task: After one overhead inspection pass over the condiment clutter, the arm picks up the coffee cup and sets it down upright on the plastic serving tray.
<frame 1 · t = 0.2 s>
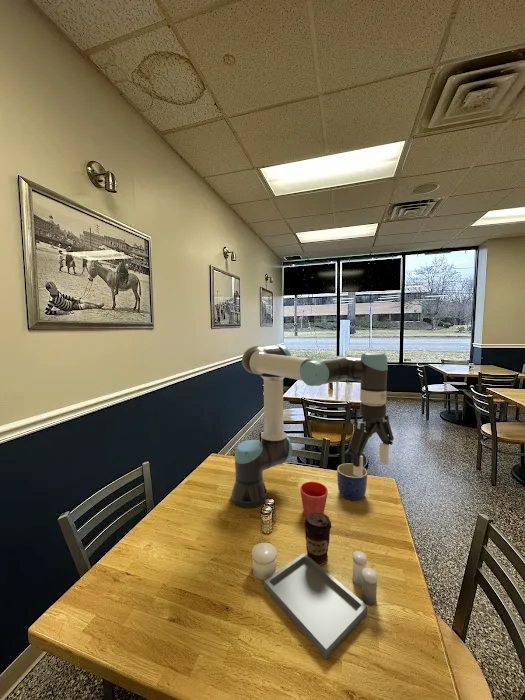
hand: (371, 469, 91), 28 cm above the table, fingers open, 13 cm apart
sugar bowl: (264, 569, 87), on the table
tray: (313, 601, 77), on the table
coffee cup: (317, 558, 92), on the table
pepper shaker: (369, 599, 77), on the table
planter: (351, 494, 126), on the table
flower pot: (313, 512, 114), on the table
salt shaker: (359, 580, 83), on the table
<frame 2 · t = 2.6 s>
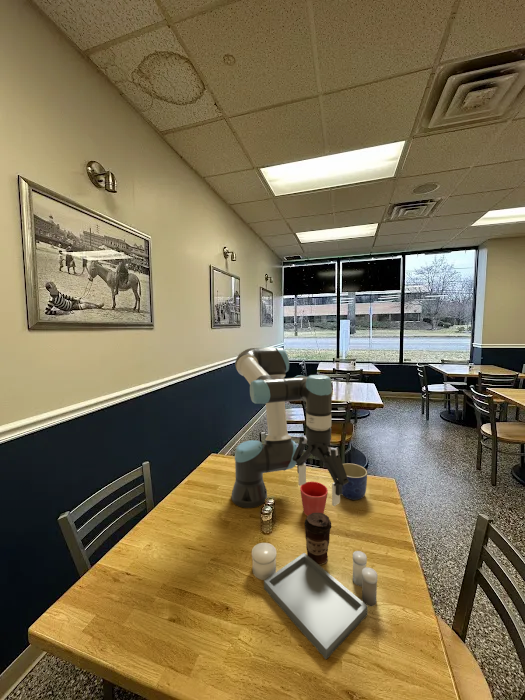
hand: (318, 493, 90), 21 cm above the table, fingers open, 13 cm apart
nothing on the table moved.
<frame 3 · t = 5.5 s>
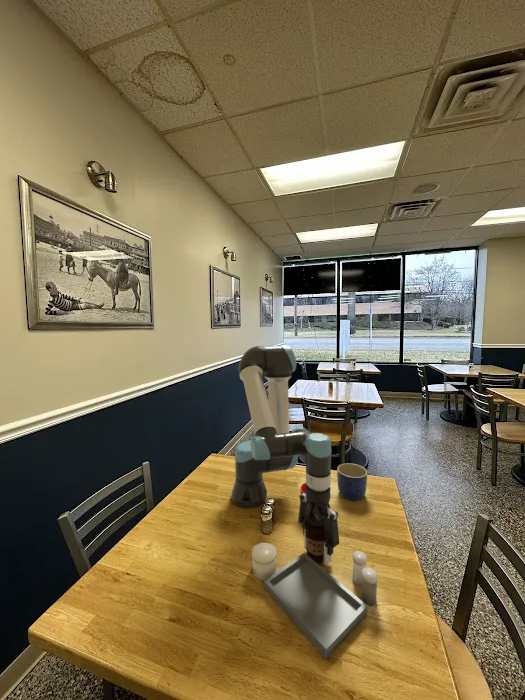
hand: (317, 554, 92), 1 cm above the table, fingers closed on coffee cup, 7 cm apart
coffee cup: (317, 558, 92), on the table, touching gripper
everything else where it was.
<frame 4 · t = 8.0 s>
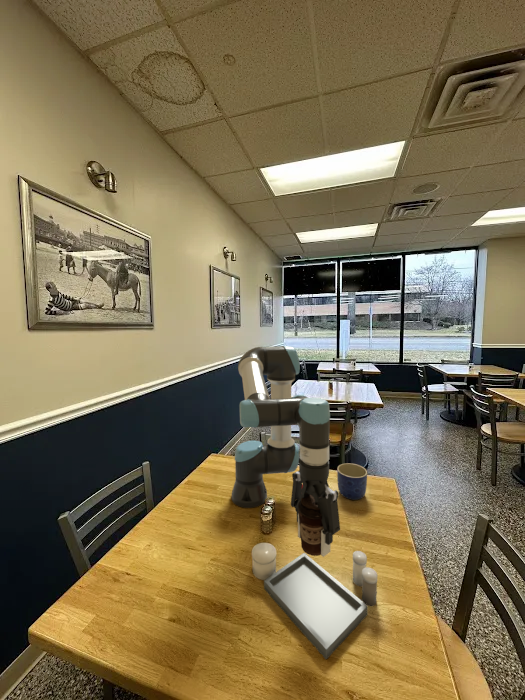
hand: (313, 543, 76), 16 cm above the table, fingers closed on coffee cup, 7 cm apart
coffee cup: (313, 548, 76), point 15 cm above the table, touching gripper
everything else where it was.
when the fingers open (4 cm above the table, at t = 10.6 s): coffee cup drops 1 cm, resting on tray.
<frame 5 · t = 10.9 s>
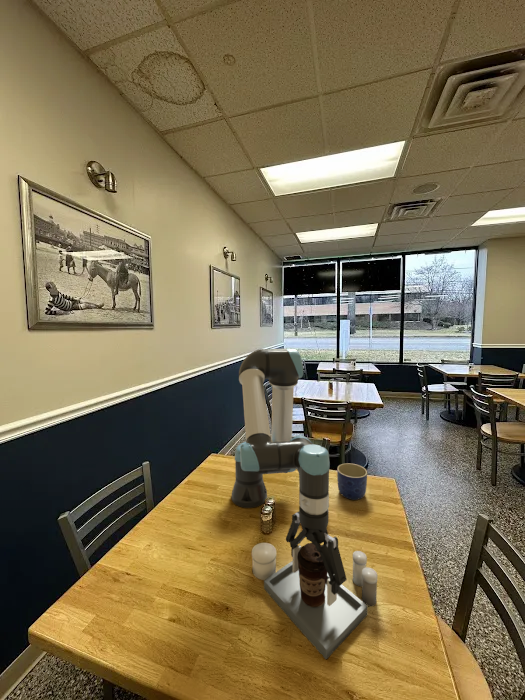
hand: (313, 584, 77), 5 cm above the table, fingers open, 11 cm apart
coffee cup: (313, 598, 77), point 1 cm above the table, touching tray
everything else where it was.
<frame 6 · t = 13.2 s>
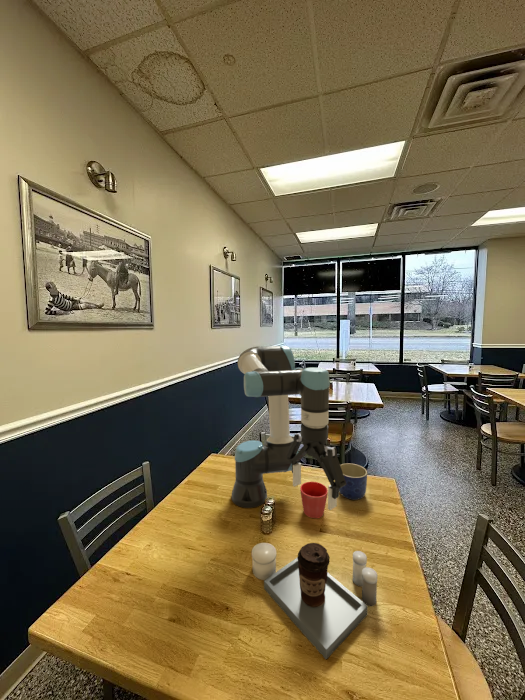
hand: (313, 495, 83), 25 cm above the table, fingers open, 13 cm apart
nothing on the table moved.
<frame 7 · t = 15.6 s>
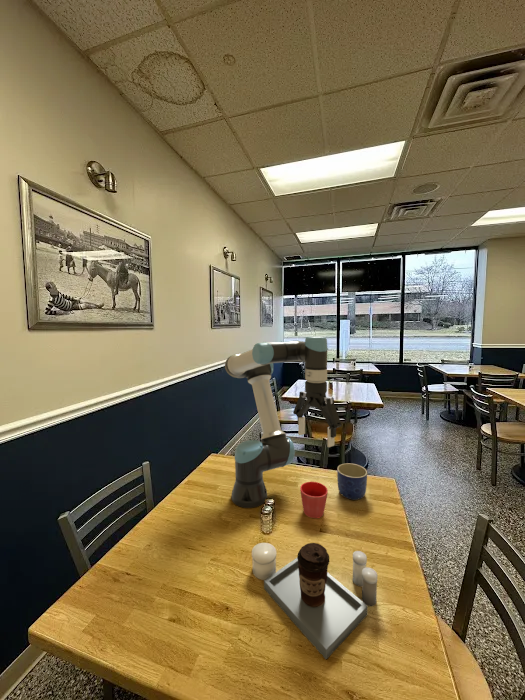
hand: (315, 439, 103), 33 cm above the table, fingers open, 13 cm apart
nothing on the table moved.
at the end: coffee cup inside the target area on the tray (0.0 cm from its centre), point 0.8 cm above the tray's base; coffee cup tilted 0°; the gripper is holding nothing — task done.
